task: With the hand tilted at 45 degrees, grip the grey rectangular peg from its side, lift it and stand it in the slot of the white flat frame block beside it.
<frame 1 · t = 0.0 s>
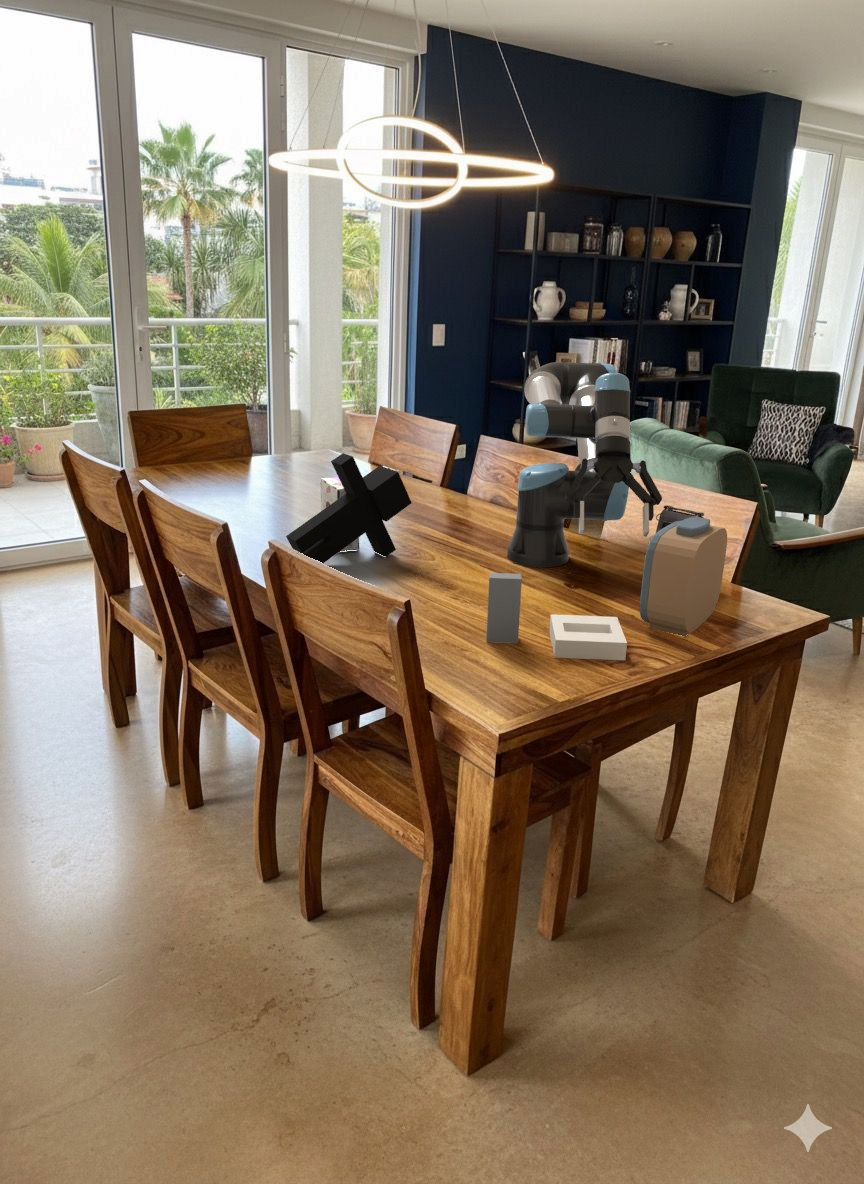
hand: (613, 533, 189), 15 cm above the table, tool tilted 35°, fingers open, 13 cm apart
alarm clock: (677, 625, 183), on the table
white flat frame block: (585, 645, 171), on the table
candy box: (340, 546, 229), on the table
camera: (675, 591, 202), on the table
toy: (348, 562, 217), on the table
grey rectangular peg: (502, 639, 173), on the table
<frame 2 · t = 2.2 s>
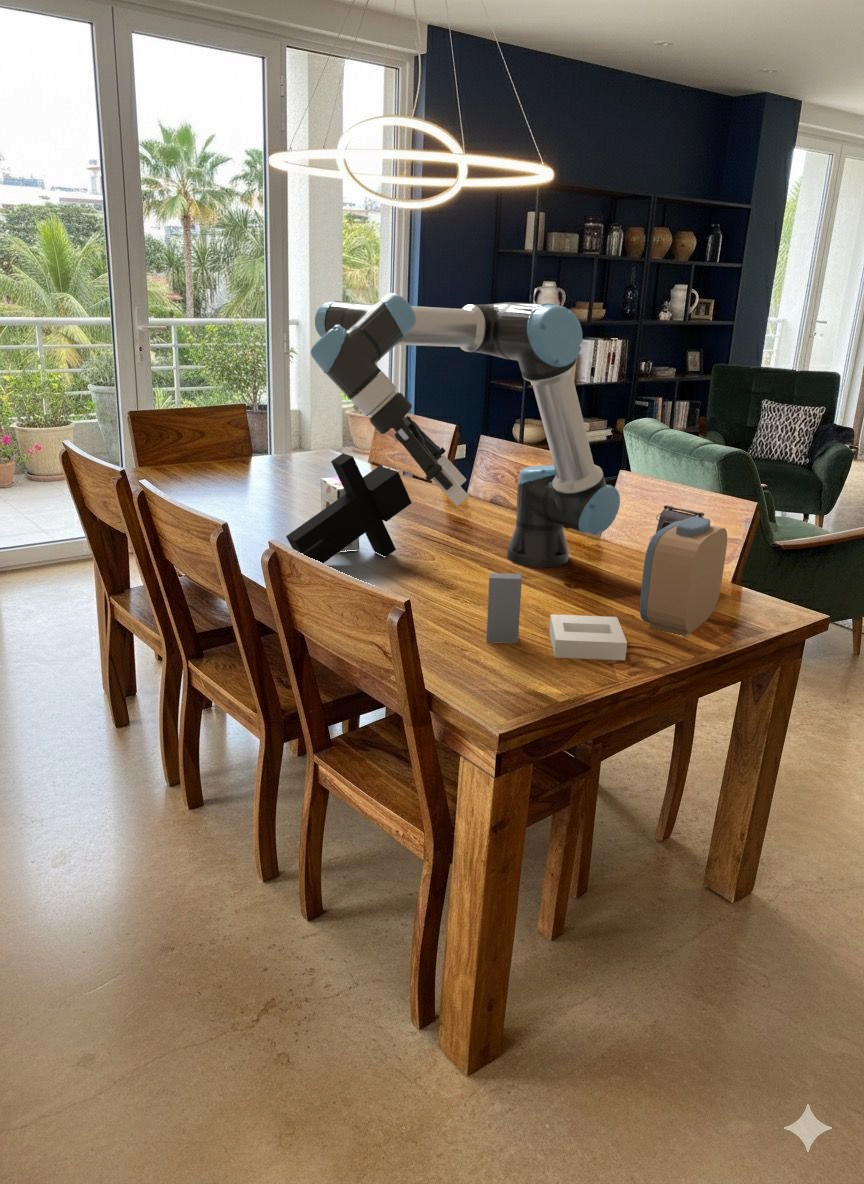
hand: (462, 492, 164), 29 cm above the table, tool tilted 45°, fingers open, 13 cm apart
nothing on the table moved.
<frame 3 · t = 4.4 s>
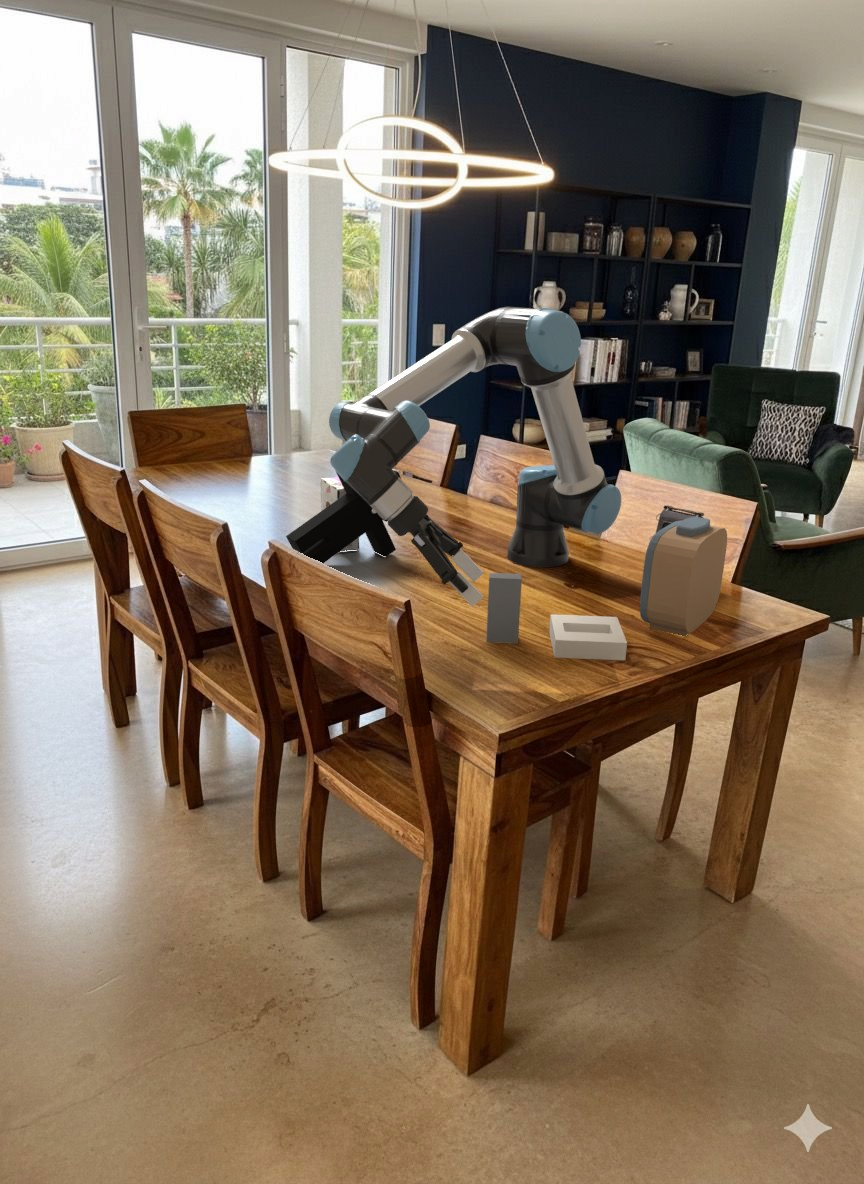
hand: (478, 589, 169), 10 cm above the table, tool tilted 45°, fingers open, 13 cm apart
nothing on the table moved.
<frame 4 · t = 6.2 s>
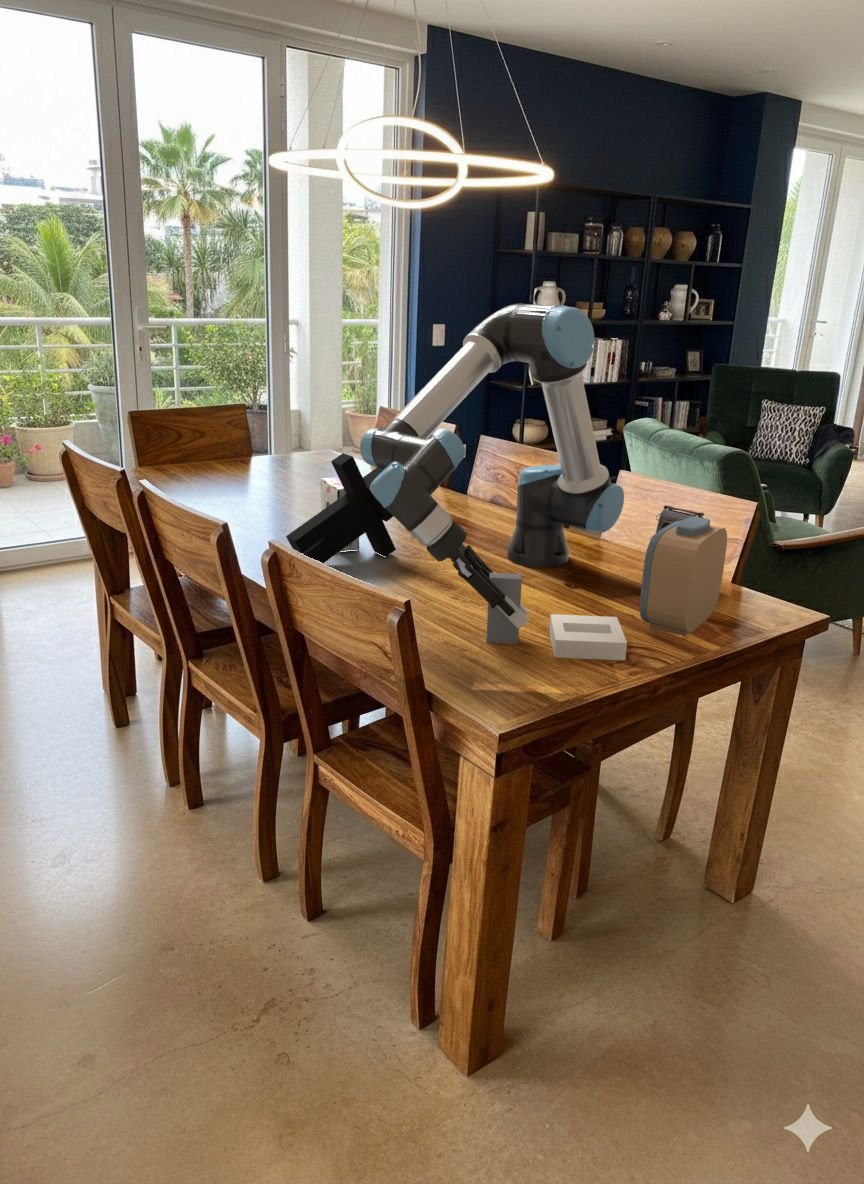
hand: (523, 620, 171), 4 cm above the table, tool tilted 45°, fingers closed on grey rectangular peg, 3 cm apart
grey rectangular peg: (502, 639, 173), on the table, touching gripper
everything else where it was.
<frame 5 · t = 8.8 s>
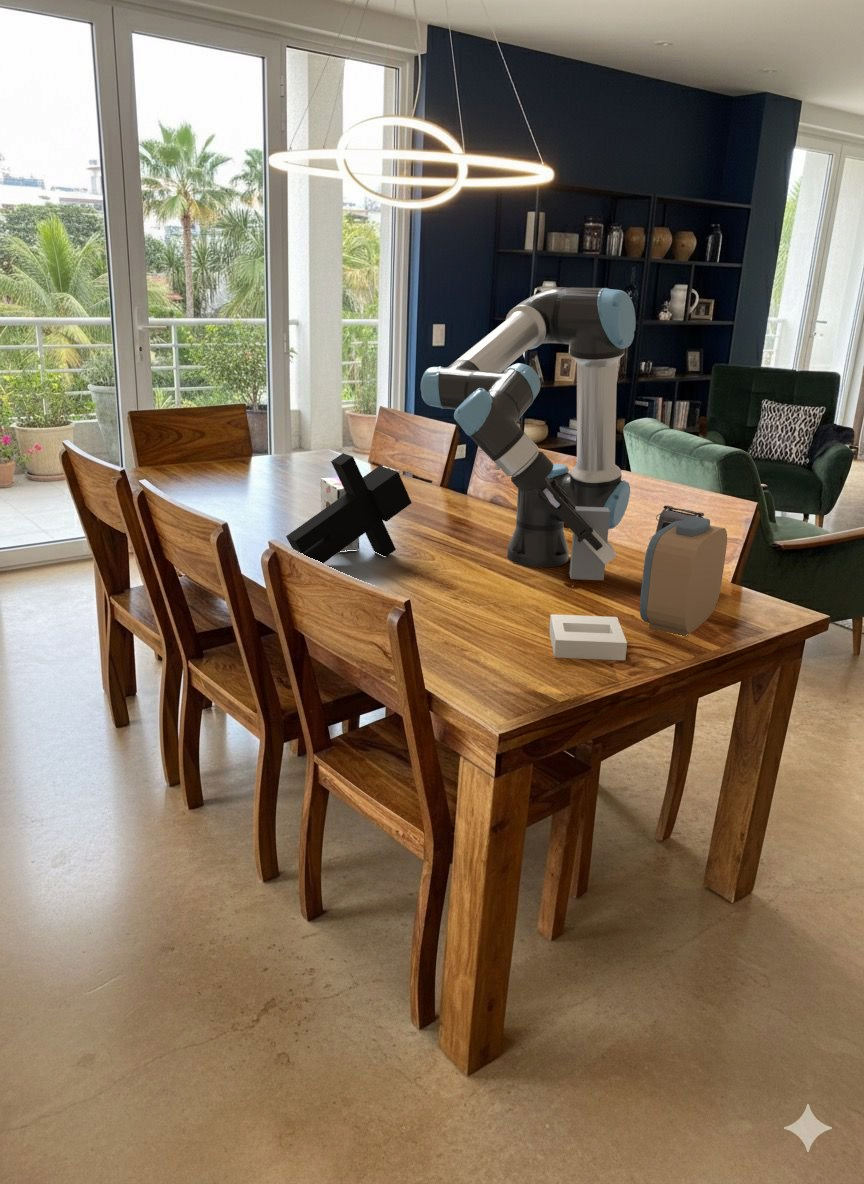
hand: (609, 556, 165), 18 cm above the table, tool tilted 45°, fingers closed on grey rectangular peg, 3 cm apart
grey rectangular peg: (586, 576, 166), point 14 cm above the table, touching gripper
everything else where it was.
when the fingers open (6 cm above the table, at t = 11.3 s): grey rectangular peg drops 2 cm, resting in white flat frame block.
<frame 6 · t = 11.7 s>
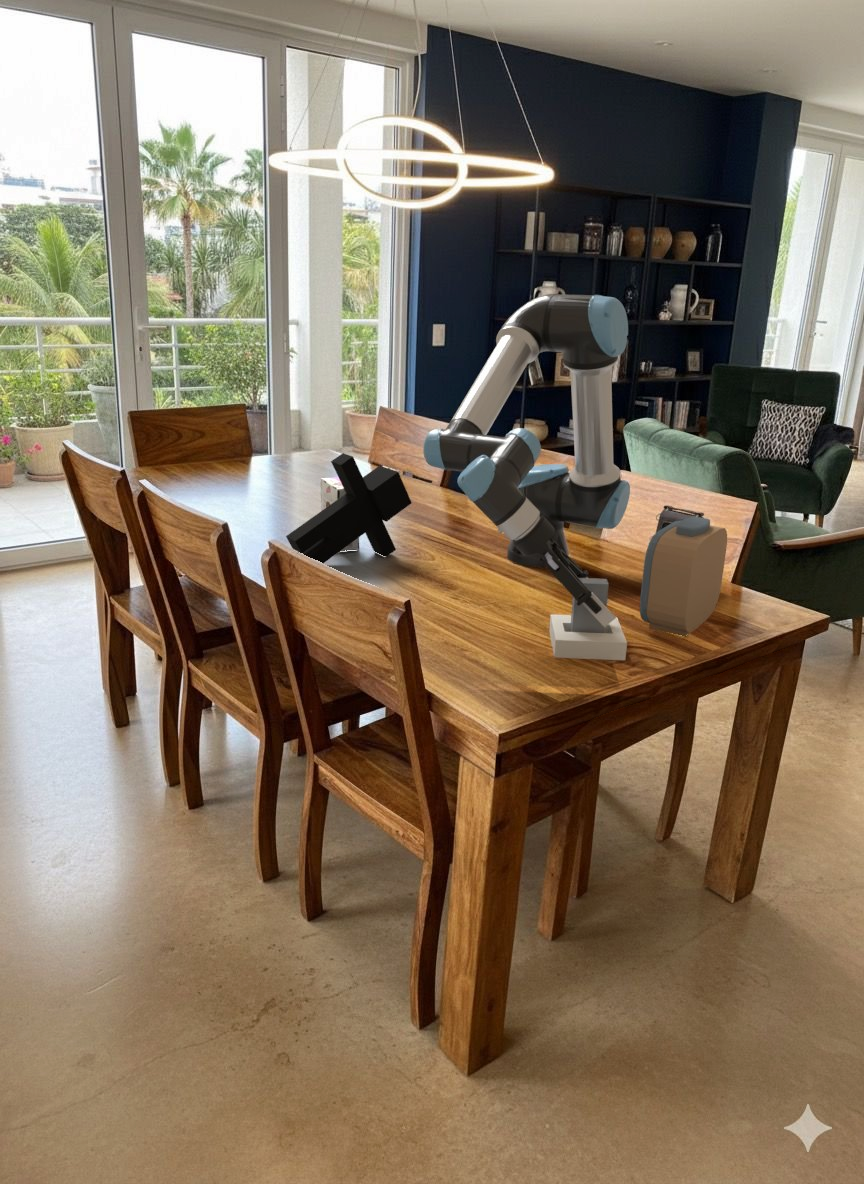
hand: (606, 613, 169), 7 cm above the table, tool tilted 45°, fingers open, 8 cm apart
grey rectangular peg: (585, 645, 171), resting in white flat frame block
everything else where it was.
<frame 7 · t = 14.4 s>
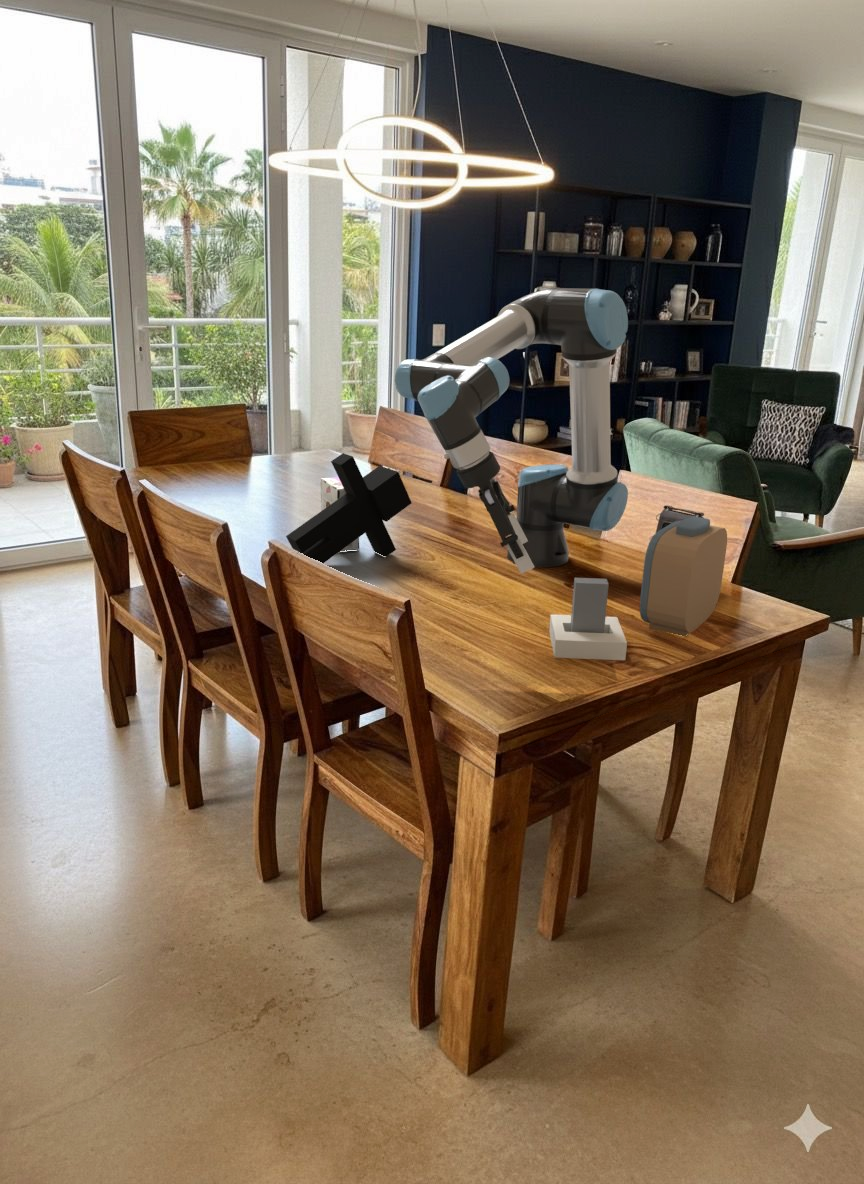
hand: (524, 556, 170), 16 cm above the table, tool tilted 30°, fingers open, 13 cm apart
nothing on the table moved.
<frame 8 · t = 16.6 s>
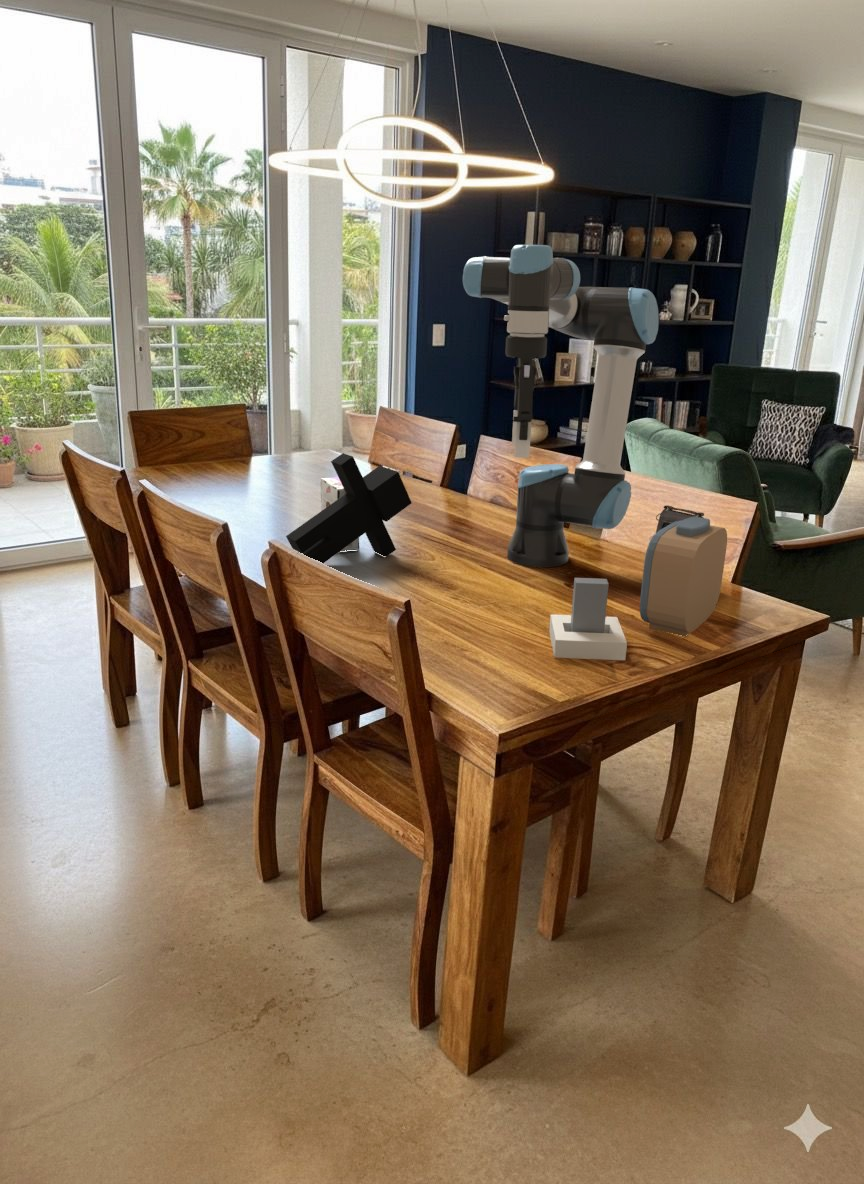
hand: (520, 450, 171), 35 cm above the table, tool pointing down, fingers open, 13 cm apart
nothing on the table moved.
at the end: grey rectangular peg inside the target area on the white flat frame block (0.0 cm from its centre), point 0.0 cm above the white flat frame block's base; grey rectangular peg tilted 0°; the gripper is holding nothing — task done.
